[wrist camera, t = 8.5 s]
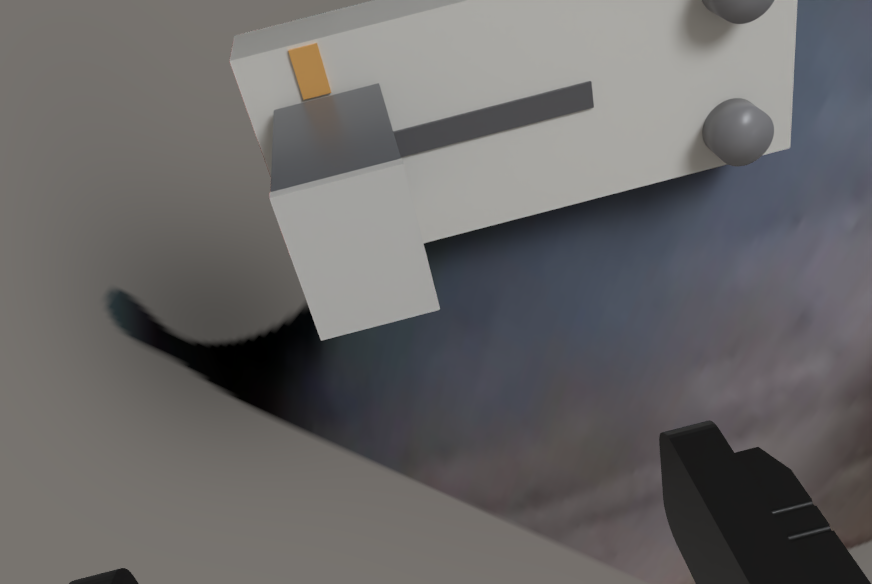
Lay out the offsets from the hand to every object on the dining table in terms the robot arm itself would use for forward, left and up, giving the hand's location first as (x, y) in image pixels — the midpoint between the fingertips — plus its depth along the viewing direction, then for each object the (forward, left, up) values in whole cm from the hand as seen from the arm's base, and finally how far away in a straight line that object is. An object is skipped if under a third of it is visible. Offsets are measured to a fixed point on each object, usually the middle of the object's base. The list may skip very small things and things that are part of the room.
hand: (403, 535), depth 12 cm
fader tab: (0, 0, -14) cm, 14 cm away
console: (-6, 0, -17) cm, 17 cm away
